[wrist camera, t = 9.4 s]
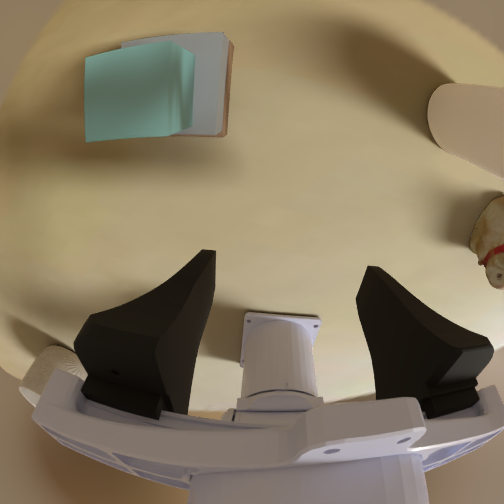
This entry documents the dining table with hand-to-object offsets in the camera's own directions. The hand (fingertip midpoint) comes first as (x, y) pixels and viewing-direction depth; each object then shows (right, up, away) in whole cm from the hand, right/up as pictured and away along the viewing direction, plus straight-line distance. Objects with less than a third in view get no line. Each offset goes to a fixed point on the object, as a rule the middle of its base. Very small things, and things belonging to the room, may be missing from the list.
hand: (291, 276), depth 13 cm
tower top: (-7, +12, +3) cm, 14 cm away
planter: (-33, -18, +25) cm, 45 cm away
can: (+15, +13, +4) cm, 20 cm away
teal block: (-7, +11, +1) cm, 13 cm away
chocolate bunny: (+24, +4, +9) cm, 25 cm away
